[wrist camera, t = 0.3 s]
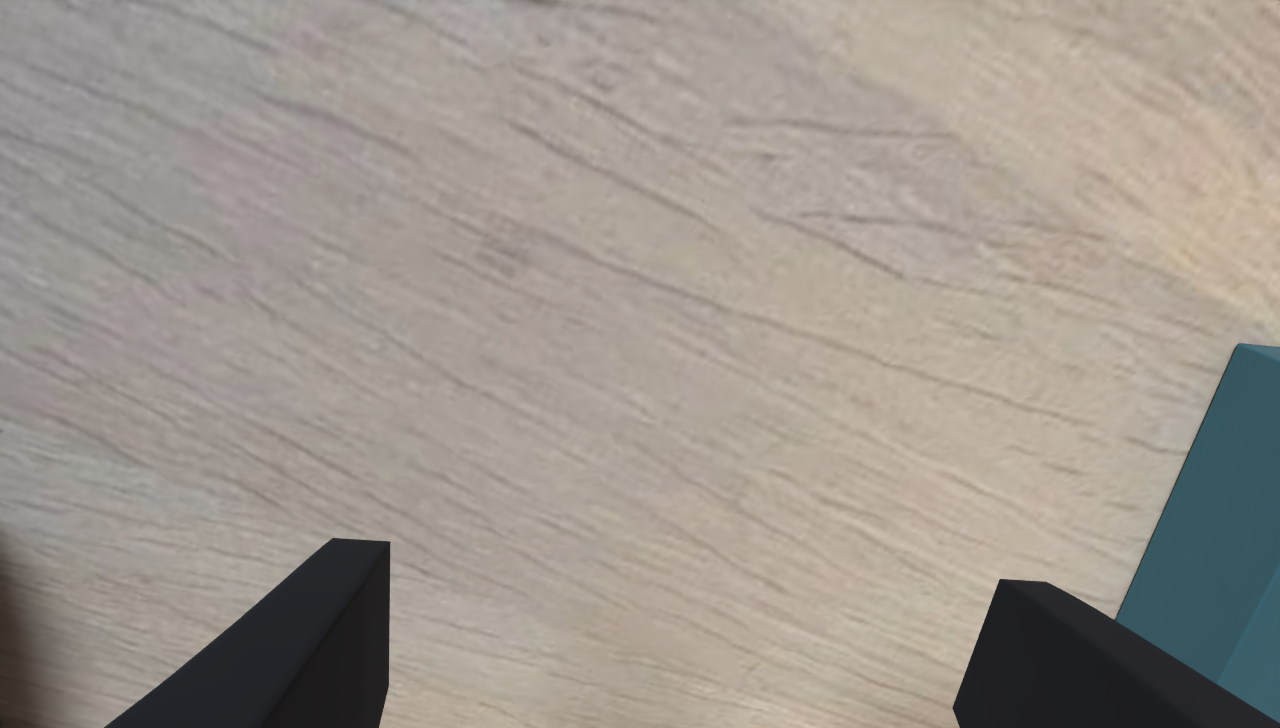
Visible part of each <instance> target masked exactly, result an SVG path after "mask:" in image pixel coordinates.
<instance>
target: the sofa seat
mask: <svg viewBox="0 0 1280 728" xmlns="http://www.w3.org/2000/svg"><path fill="white" fill-rule="evenodd" d="M1116 621H1117V622H1118V623H1120V624H1122V625H1123V626H1125V627H1126V628H1128V629H1130V630H1131V631H1133V632H1135V633H1136V634H1138V635H1139V636H1141V637H1143V638H1144V639H1146V640H1147V641H1149V642H1151V643H1152V644H1154V645H1155V646H1157V647H1158V648H1160V649H1162V650H1163V651H1165V652H1166V653H1168V654H1170V655H1171V656H1173V657H1174V658H1176V659H1178V660H1179V661H1181V662H1182V663H1184V664H1186V665H1187V666H1189V667H1190V668H1192V669H1194V670H1195V671H1197V672H1198V673H1200V674H1201V675H1203V676H1205V677H1206V678H1208V679H1209V680H1211V681H1213V682H1214V683H1216V684H1217V685H1219V686H1221V687H1222V688H1224V689H1225V690H1227V691H1229V692H1230V693H1232V694H1233V695H1235V696H1237V697H1238V698H1240V699H1241V700H1243V701H1245V702H1246V703H1248V704H1249V705H1251V706H1253V707H1254V708H1256V709H1258V710H1259V711H1261V712H1262V713H1264V714H1266V715H1267V716H1269V717H1270V718H1272V719H1274V720H1275V721H1277V722H1279V723H1280V347H1272V346H1262V345H1252V344H1242V343H1241V344H1238V345H1237V347H1236V349H1235V351H1234V354H1233V356H1232V358H1231V360H1230V363H1229V365H1228V367H1227V369H1226V372H1225V374H1224V376H1223V378H1222V381H1221V383H1220V385H1219V388H1218V390H1217V392H1216V394H1215V397H1214V399H1213V401H1212V403H1211V406H1210V408H1209V410H1208V412H1207V415H1206V417H1205V419H1204V421H1203V424H1202V426H1201V428H1200V431H1199V433H1198V435H1197V437H1196V440H1195V442H1194V444H1193V446H1192V449H1191V451H1190V453H1189V455H1188V458H1187V460H1186V462H1185V464H1184V467H1183V469H1182V471H1181V474H1180V476H1179V478H1178V480H1177V483H1176V485H1175V487H1174V489H1173V492H1172V494H1171V496H1170V498H1169V501H1168V503H1167V505H1166V507H1165V510H1164V512H1163V514H1162V516H1161V519H1160V521H1159V523H1158V526H1157V528H1156V530H1155V532H1154V535H1153V537H1152V539H1151V541H1150V544H1149V546H1148V548H1147V550H1146V553H1145V555H1144V557H1143V559H1142V562H1141V564H1140V566H1139V569H1138V571H1137V573H1136V575H1135V578H1134V580H1133V582H1132V584H1131V587H1130V589H1129V591H1128V593H1127V596H1126V598H1125V600H1124V602H1123V605H1122V607H1121V609H1120V612H1119V614H1118V616H1117V618H1116Z"/></svg>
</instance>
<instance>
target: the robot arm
mask: <svg viewBox="0 0 1280 728" xmlns="http://www.w3.org/2000/svg"><path fill="white" fill-rule="evenodd" d="M389 610H390V542H388V541H372V540H355V539H339V538H332V539H331V540H330V541H329V542H327V543H326V544H325V545H323V546H322V547H321V548H320V549H319V550H317V551H316V552H315V553H314V554H313V555H312V556H310V557H309V558H308V559H307V560H306V561H305V562H304V563H302V564H301V565H300V566H299V567H298V568H297V569H296V570H295V571H293V572H292V573H291V574H290V575H289V576H288V577H287V578H286V579H284V580H283V581H282V582H281V583H280V584H279V585H278V586H276V587H275V588H274V589H273V590H272V591H271V592H270V593H268V594H267V595H266V596H265V597H264V598H263V599H262V600H260V601H259V602H258V603H257V604H256V605H255V606H254V607H252V608H251V609H250V610H249V611H248V612H247V613H245V614H244V615H243V616H242V617H241V618H240V619H239V620H237V621H236V622H235V623H234V624H233V625H231V626H230V627H229V628H228V629H227V630H225V631H224V632H223V633H222V634H221V635H219V636H218V637H217V638H216V639H215V640H213V641H212V642H211V643H210V644H209V645H207V646H206V647H205V648H204V649H203V650H201V651H200V652H199V653H198V654H197V655H195V656H194V657H193V658H192V659H191V660H189V661H188V662H187V663H186V664H185V665H183V666H182V667H181V668H180V669H179V670H177V671H176V672H175V673H174V674H172V675H171V676H170V677H169V678H167V679H166V680H165V681H164V682H162V683H161V684H160V685H159V686H157V687H156V688H155V689H154V690H152V691H151V692H150V693H149V694H147V695H146V696H145V697H143V698H142V699H141V700H139V701H138V702H137V703H135V704H134V705H133V706H132V707H130V708H129V709H128V710H126V711H125V712H124V713H122V714H121V715H120V716H118V717H117V718H116V719H115V720H113V721H112V722H111V723H109V724H108V725H107V726H105V727H104V728H379V724H380V720H381V716H382V712H383V708H384V704H385V700H386V695H387V691H388V687H389ZM953 710H954V713H955V716H956V718H957V721H958V724H959V726H960V728H1280V723H1279V722H1277V721H1275V720H1274V719H1272V718H1270V717H1269V716H1267V715H1266V714H1264V713H1262V712H1261V711H1259V710H1258V709H1256V708H1254V707H1253V706H1251V705H1249V704H1248V703H1246V702H1245V701H1243V700H1241V699H1240V698H1238V697H1237V696H1235V695H1233V694H1232V693H1230V692H1229V691H1227V690H1225V689H1224V688H1222V687H1221V686H1219V685H1217V684H1216V683H1214V682H1213V681H1211V680H1209V679H1208V678H1206V677H1205V676H1203V675H1201V674H1200V673H1198V672H1197V671H1195V670H1194V669H1192V668H1190V667H1189V666H1187V665H1186V664H1184V663H1182V662H1181V661H1179V660H1178V659H1176V658H1174V657H1173V656H1171V655H1170V654H1168V653H1166V652H1165V651H1163V650H1162V649H1160V648H1158V647H1157V646H1155V645H1154V644H1152V643H1151V642H1149V641H1147V640H1146V639H1144V638H1143V637H1141V636H1139V635H1138V634H1136V633H1135V632H1133V631H1131V630H1130V629H1128V628H1126V627H1125V626H1123V625H1122V624H1120V623H1118V622H1117V621H1115V620H1113V619H1112V618H1110V617H1108V616H1107V615H1105V614H1103V613H1102V612H1100V611H1098V610H1097V609H1095V608H1093V607H1092V606H1090V605H1088V604H1086V603H1085V602H1083V601H1081V600H1079V599H1078V598H1076V597H1074V596H1072V595H1070V594H1069V593H1067V592H1065V591H1063V590H1061V589H1059V588H1057V587H1055V586H1053V585H1051V584H1049V583H1047V582H1040V581H1023V580H1007V579H1000V580H999V583H998V585H997V588H996V591H995V594H994V596H993V599H992V602H991V604H990V607H989V610H988V613H987V615H986V618H985V621H984V623H983V626H982V629H981V632H980V634H979V637H978V640H977V642H976V645H975V648H974V651H973V653H972V656H971V659H970V662H969V664H968V667H967V670H966V672H965V675H964V678H963V681H962V683H961V686H960V689H959V691H958V694H957V697H956V700H955V702H954V705H953Z"/></svg>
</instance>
